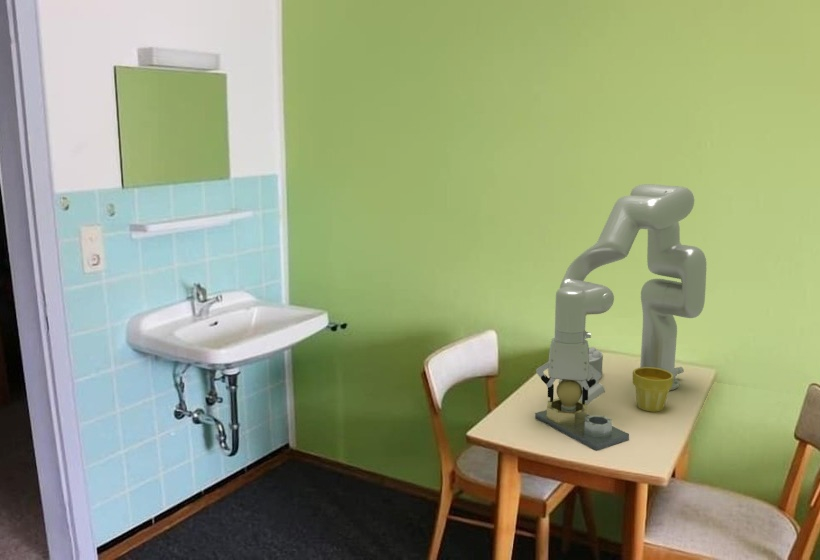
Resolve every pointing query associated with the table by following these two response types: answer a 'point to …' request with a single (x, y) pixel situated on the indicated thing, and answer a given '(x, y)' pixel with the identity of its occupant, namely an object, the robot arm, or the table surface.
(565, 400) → the light bulb
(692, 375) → the table surface
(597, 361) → the lumpy-topped squat cylinder
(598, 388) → the white rounded block
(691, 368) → the table surface
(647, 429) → the table surface
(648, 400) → the plant pot
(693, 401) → the table surface
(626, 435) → the fitting plate
